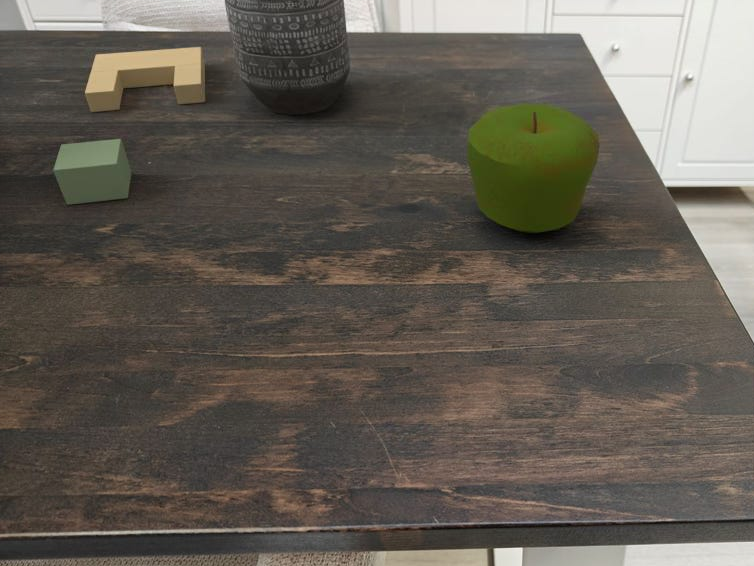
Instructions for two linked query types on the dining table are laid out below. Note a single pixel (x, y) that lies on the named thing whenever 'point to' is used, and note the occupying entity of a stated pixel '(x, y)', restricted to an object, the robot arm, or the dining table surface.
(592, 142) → the apple
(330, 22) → the planter
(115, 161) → the sage green rounded cube
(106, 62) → the u-shaped wooden block
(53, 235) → the dining table surface
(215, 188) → the dining table surface
